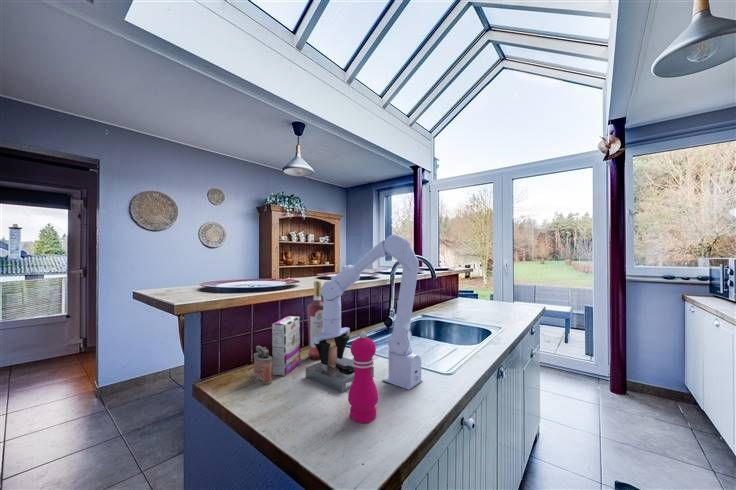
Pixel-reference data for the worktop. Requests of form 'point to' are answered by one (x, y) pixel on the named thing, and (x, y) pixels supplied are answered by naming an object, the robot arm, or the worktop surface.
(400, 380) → the robot arm
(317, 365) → the keyhole plate
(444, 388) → the worktop surface
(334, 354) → the peg
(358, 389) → the pepper mill
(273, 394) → the worktop surface
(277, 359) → the candy bar box
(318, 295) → the liquor
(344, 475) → the worktop surface
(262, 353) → the lighter
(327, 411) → the worktop surface
